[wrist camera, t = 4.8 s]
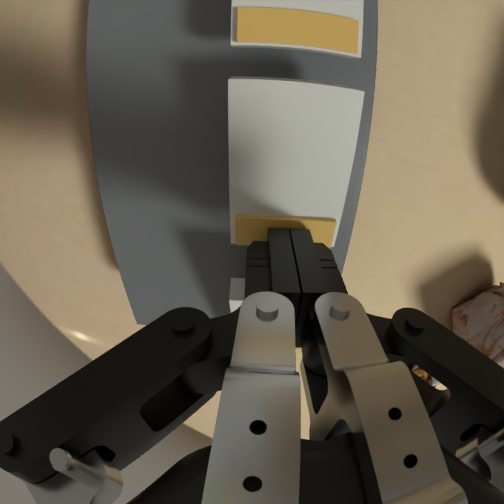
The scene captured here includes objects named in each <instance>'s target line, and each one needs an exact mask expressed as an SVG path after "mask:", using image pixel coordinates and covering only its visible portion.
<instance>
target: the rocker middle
mask: <svg viewBox="0 0 504 504" xmlns="http://www.w3.org/2000/svg"><path fill="white" fill-rule="evenodd" d="M364 92H365V91H362V90H360V89H358V88H356V87H352V86H346V85H340V84H333V83H326V82H319V81H310V80H301V79H289V78H274V77H243V76H233V77H230V78H229V79H228V141H229V199H230V236H231V244H236V245H250V244H251V243H252V242H253V241H267V231H268V228H288V230H289V228H293V229H309V230H310V232H311V235H312V238H313V241H314V243H324V244H325V245H326V246H327V247H328V248H331V247H334V245H335V241H336V237H337V233H338V229H339V225H340V221H341V216H342V212H343V208H344V203H345V199H346V194H347V190H348V185H349V180H350V176H351V171H352V165H353V160H354V155H355V150H356V144H357V138H358V132H359V126H360V120H361V113H362V107H363V100H364Z"/></svg>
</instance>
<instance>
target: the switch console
mask: <svg viewBox="0 0 504 504" xmlns="http://www.w3.org/2000/svg"><path fill="white" fill-rule="evenodd" d="M231 8H232V0H89V6H88V18H87V36H86V80H87V100H88V113H89V123H90V133H91V141H92V149H93V156H94V162H95V169H96V174H97V180H98V186H99V191H100V196H101V201H102V205H103V210H104V215H105V219H106V223H107V227H108V231H109V235H110V239H111V243H112V247H113V251H114V254H115V258H116V261H117V265H118V268H119V271H120V275H121V278H122V281H123V284H124V287H125V290H126V293H127V296H128V299H129V302H130V305H131V308H132V311H133V314H134V316H135V319H136V322H137V324H141V325H148V324H150V323H151V322H153V321H154V320H156V319H157V318H159V317H160V316H162V315H163V314H165V313H166V312H168V311H170V310H172V309H175V308H179V307H192V308H197V309H199V310H201V311H203V312H204V313H206V314H207V316H208V317H209V318H215V317H220V316H224V315H227V314H230V313H231V311H230V303H229V296H230V282H231V278H245V275H246V256H247V248H248V247H249V245H236V244H231V236H230V199H229V141H228V79H229V78H230V77H233V76H243V77H274V78H289V79H301V80H310V81H319V82H326V83H333V84H340V85H346V86H352V87H356V88H358V89H360V90H362V91H365V92H364V100H363V107H362V113H361V120H360V126H359V132H358V138H357V144H356V150H355V155H354V160H353V165H352V171H351V176H350V180H349V185H348V190H347V194H346V199H345V203H344V208H343V212H342V216H341V221H340V225H339V229H338V233H337V237H336V241H335V245H334V247H331V248H329V249H330V250H331V251H332V253H333V256H334V258H335V261H336V263H337V266H338V269H339V271H340V274H342V270H343V266H344V263H345V259H346V255H347V251H348V246H349V242H350V238H351V234H352V229H353V225H354V220H355V215H356V211H357V206H358V201H359V196H360V190H361V185H362V179H363V174H364V168H365V162H366V155H367V149H368V142H369V134H370V127H371V119H372V110H373V100H374V89H375V77H376V61H377V36H378V1H377V0H364V7H363V35H362V51H361V58H348V57H342V56H337V55H330V54H324V53H317V52H309V51H300V50H289V49H275V48H233V47H232V46H231Z"/></svg>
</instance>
